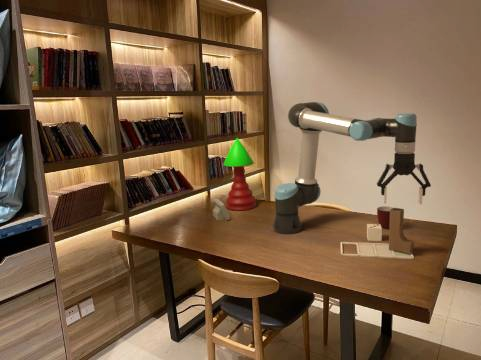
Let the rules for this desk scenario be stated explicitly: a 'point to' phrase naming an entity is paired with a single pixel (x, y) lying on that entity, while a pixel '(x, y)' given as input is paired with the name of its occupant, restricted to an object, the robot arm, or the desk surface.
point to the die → (374, 232)
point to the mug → (384, 216)
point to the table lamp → (239, 178)
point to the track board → (376, 251)
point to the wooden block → (398, 233)
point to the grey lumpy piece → (220, 210)
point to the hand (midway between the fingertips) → (402, 203)
